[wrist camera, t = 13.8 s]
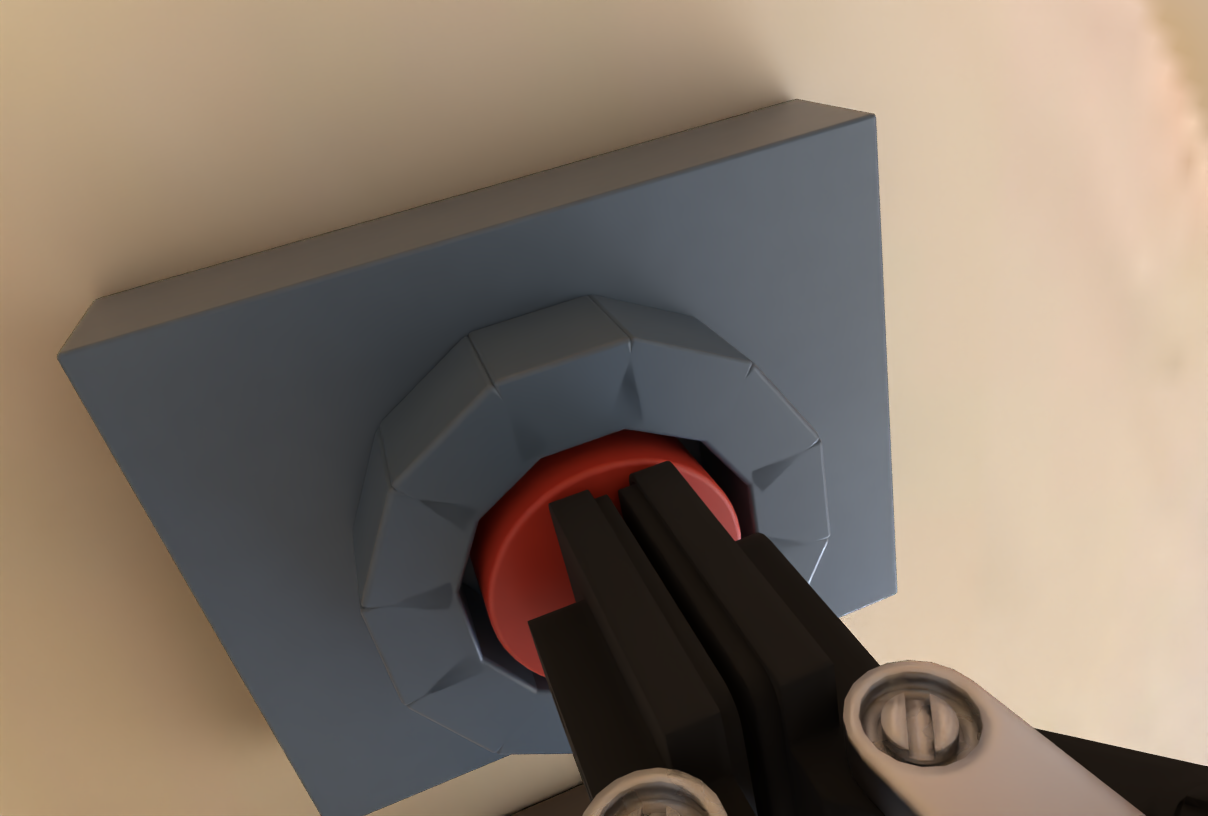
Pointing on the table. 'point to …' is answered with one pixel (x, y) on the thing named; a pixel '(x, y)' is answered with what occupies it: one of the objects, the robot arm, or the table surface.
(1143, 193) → the table surface
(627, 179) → the button box
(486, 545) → the red push button
